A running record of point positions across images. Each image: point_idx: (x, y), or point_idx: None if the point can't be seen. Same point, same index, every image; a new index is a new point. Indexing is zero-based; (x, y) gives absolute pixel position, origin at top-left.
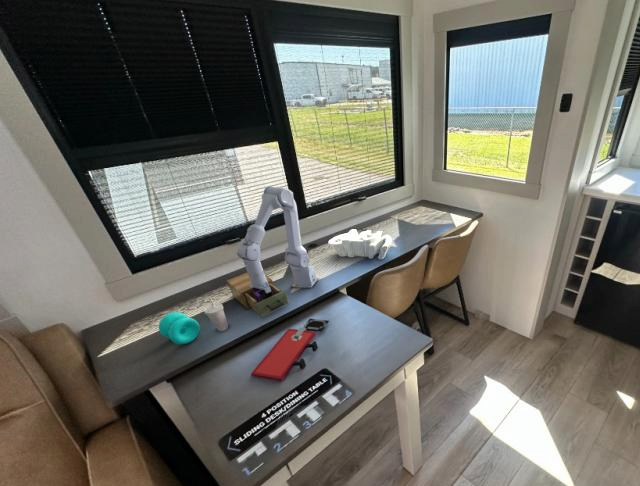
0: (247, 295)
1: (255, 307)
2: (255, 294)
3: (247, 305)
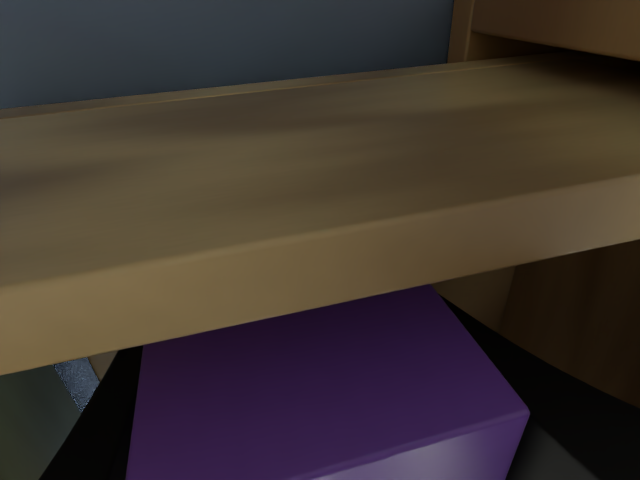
0: (621, 194)
1: (77, 136)
2: (365, 453)
3: (492, 19)
